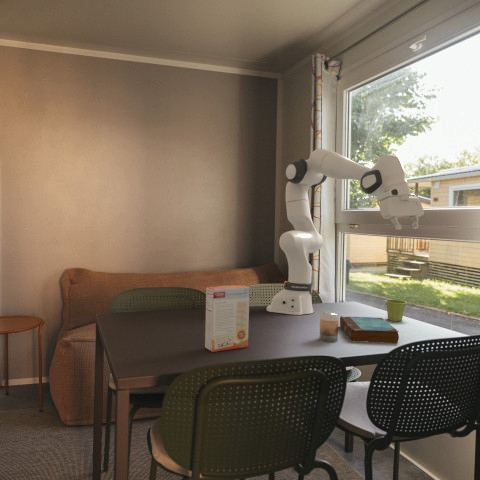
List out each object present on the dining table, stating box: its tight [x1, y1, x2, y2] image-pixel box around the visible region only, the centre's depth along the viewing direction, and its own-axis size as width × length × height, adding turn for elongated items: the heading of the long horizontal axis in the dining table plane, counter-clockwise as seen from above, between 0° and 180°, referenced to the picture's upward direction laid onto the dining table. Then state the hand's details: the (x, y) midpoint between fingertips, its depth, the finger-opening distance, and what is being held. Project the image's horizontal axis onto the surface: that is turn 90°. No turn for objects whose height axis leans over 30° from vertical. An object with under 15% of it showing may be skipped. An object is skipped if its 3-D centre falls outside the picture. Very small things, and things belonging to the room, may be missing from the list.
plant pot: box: [384, 299, 407, 322], centre depth 206 cm, size 9×9×9 cm
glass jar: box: [318, 310, 340, 343], centre depth 167 cm, size 7×7×10 cm
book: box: [339, 315, 400, 344], centre depth 177 cm, size 23×18×5 cm
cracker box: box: [204, 284, 251, 353], centre depth 152 cm, size 14×6×21 cm, turn 121°
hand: (407, 228), depth 169 cm, fingers open, 8 cm apart
